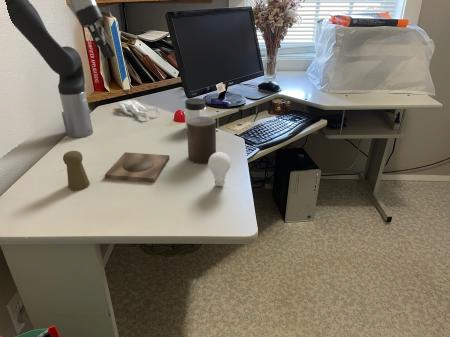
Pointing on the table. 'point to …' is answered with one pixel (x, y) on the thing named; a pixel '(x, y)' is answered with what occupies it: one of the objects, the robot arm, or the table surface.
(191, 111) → the jar
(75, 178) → the cork
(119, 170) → the walnut board
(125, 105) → the superhero figure
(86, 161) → the table surface
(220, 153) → the light bulb
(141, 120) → the table surface
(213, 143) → the pillar candle
